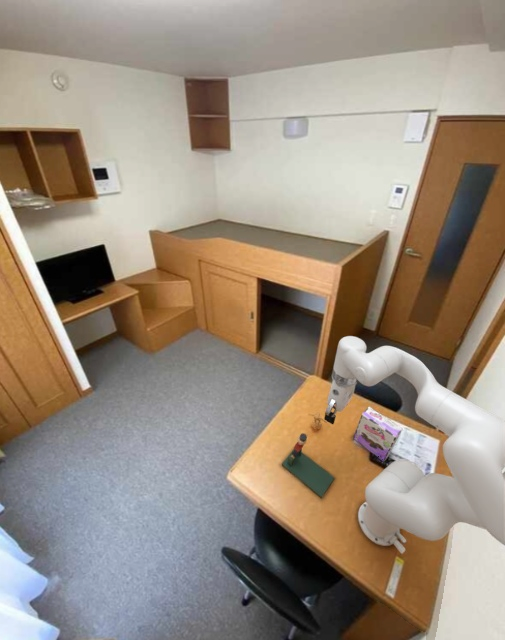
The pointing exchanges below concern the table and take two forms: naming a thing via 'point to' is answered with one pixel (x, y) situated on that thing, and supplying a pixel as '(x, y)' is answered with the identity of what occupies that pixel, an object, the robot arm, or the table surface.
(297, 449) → the toy soldier
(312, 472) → the stand
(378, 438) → the candy box
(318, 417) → the figurine
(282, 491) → the table surface
